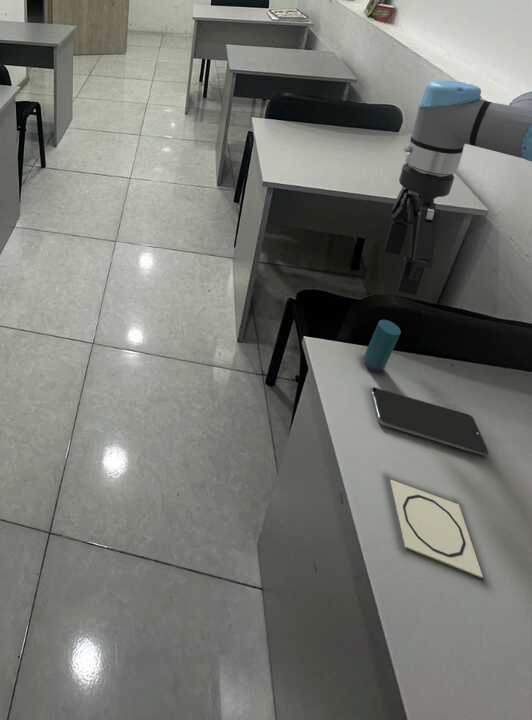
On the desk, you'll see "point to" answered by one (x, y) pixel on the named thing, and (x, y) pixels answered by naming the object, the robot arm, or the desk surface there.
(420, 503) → the drawing sheet
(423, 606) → the desk surface
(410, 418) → the smartphone
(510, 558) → the desk surface
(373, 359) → the teal cylinder
